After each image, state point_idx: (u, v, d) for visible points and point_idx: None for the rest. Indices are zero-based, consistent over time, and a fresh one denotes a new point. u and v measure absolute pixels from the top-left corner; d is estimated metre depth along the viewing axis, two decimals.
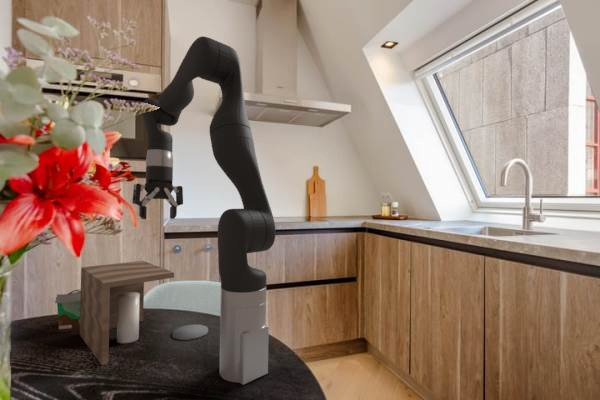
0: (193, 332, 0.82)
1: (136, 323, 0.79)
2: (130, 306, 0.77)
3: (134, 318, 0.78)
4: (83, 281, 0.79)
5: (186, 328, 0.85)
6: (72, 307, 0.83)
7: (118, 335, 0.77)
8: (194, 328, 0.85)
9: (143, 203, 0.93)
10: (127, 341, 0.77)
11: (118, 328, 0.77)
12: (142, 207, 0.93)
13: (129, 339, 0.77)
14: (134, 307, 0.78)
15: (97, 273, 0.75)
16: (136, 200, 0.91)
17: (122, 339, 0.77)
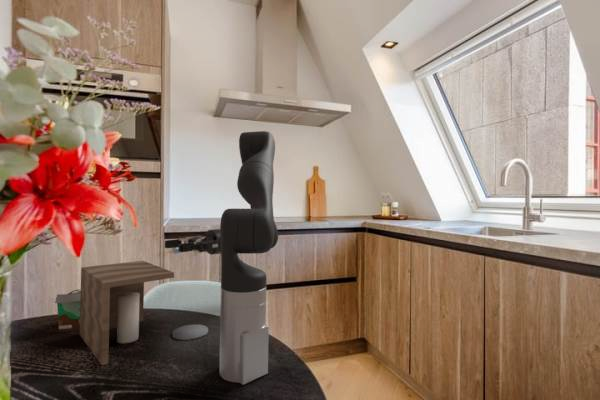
0: (193, 332, 0.82)
1: (136, 323, 0.79)
2: (130, 306, 0.77)
3: (134, 318, 0.78)
4: (83, 281, 0.79)
5: (186, 328, 0.85)
6: (72, 307, 0.83)
7: (118, 335, 0.77)
8: (194, 328, 0.85)
9: (180, 238, 0.93)
10: (127, 341, 0.77)
11: (118, 328, 0.77)
12: None
13: (129, 339, 0.77)
14: (134, 307, 0.78)
15: (97, 273, 0.75)
16: (179, 237, 0.95)
17: (122, 339, 0.77)
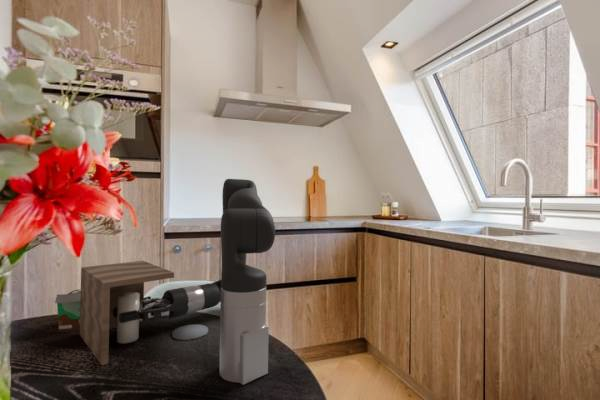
0: (193, 332, 0.82)
1: (136, 323, 0.78)
2: (130, 306, 0.77)
3: None
4: (83, 281, 0.79)
5: (186, 328, 0.85)
6: (72, 307, 0.83)
7: (118, 335, 0.77)
8: (194, 328, 0.85)
9: None
10: (127, 341, 0.77)
11: (118, 328, 0.77)
12: None
13: (129, 339, 0.77)
14: (134, 307, 0.78)
15: (97, 273, 0.75)
16: None
17: (122, 339, 0.77)
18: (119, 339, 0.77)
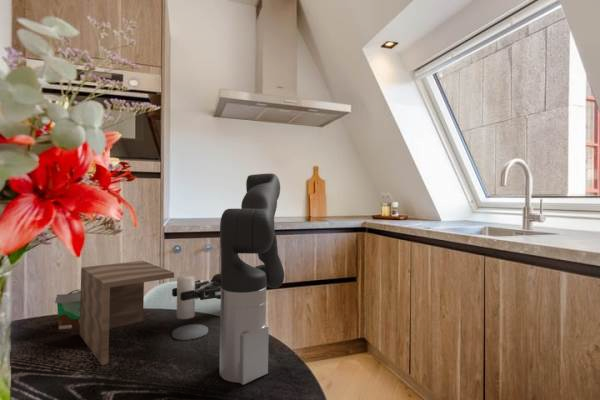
0: (193, 332, 0.82)
1: (193, 302, 0.89)
2: (189, 286, 0.88)
3: None
4: (83, 281, 0.79)
5: (186, 328, 0.85)
6: (72, 307, 0.83)
7: (178, 312, 0.88)
8: (194, 328, 0.85)
9: None
10: (186, 317, 0.87)
11: (178, 306, 0.88)
12: None
13: (188, 315, 0.88)
14: (191, 287, 0.88)
15: (97, 273, 0.75)
16: None
17: (182, 315, 0.87)
18: (179, 315, 0.87)
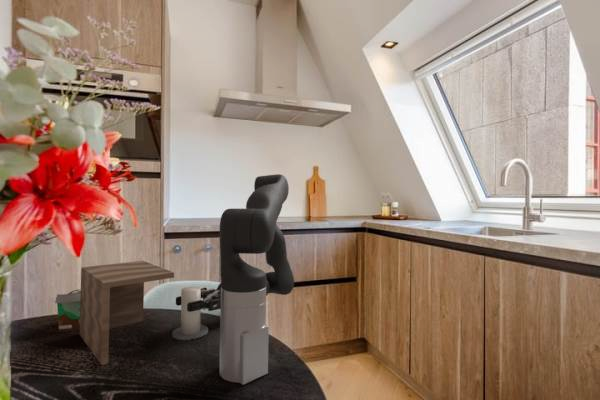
0: None
1: (199, 315, 0.83)
2: (194, 299, 0.81)
3: (197, 310, 0.82)
4: (83, 281, 0.79)
5: None
6: (72, 307, 0.83)
7: (183, 327, 0.81)
8: None
9: None
10: (192, 332, 0.81)
11: (183, 320, 0.81)
12: None
13: (193, 330, 0.81)
14: (197, 300, 0.82)
15: (97, 273, 0.75)
16: None
17: (187, 330, 0.81)
18: (184, 330, 0.81)
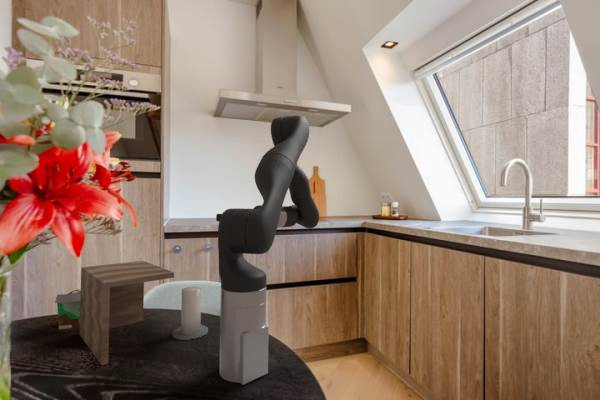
0: None
1: (199, 315, 0.83)
2: (194, 299, 0.82)
3: (198, 311, 0.82)
4: (83, 281, 0.79)
5: None
6: (72, 307, 0.83)
7: (183, 327, 0.81)
8: None
9: None
10: (192, 332, 0.81)
11: (183, 320, 0.81)
12: None
13: (193, 330, 0.81)
14: (197, 300, 0.82)
15: (97, 273, 0.75)
16: None
17: (187, 330, 0.81)
18: (184, 330, 0.81)
